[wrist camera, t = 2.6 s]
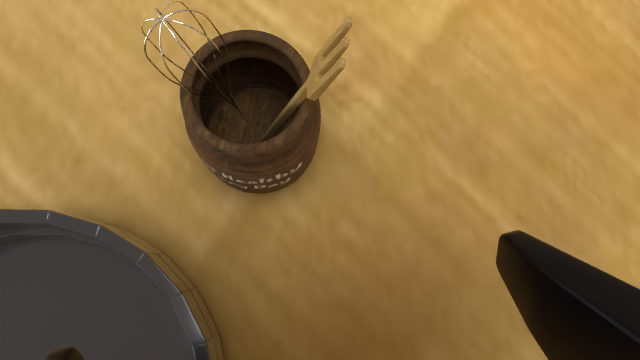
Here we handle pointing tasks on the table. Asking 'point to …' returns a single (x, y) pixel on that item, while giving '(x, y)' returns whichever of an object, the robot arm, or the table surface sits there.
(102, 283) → the pan
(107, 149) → the table surface
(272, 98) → the utensil holder
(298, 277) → the table surface
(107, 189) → the table surface
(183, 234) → the table surface
